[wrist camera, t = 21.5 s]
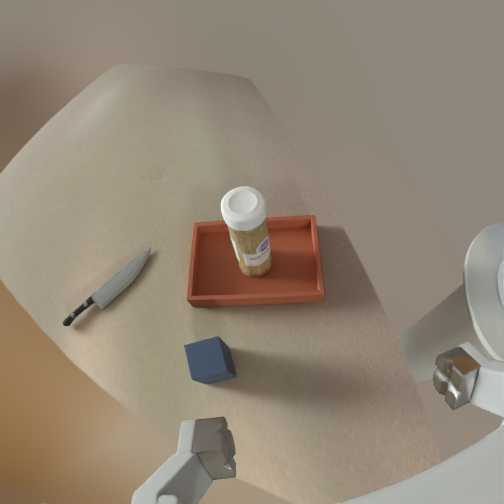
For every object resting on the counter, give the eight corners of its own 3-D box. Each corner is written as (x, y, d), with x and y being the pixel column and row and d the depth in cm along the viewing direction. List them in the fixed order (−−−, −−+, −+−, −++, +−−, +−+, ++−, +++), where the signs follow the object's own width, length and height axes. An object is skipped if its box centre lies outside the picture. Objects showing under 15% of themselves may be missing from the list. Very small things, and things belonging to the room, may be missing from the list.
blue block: (228, 346, 38) (218, 336, 32) (236, 376, 36) (227, 371, 30) (198, 354, 37) (184, 345, 32) (205, 384, 36) (191, 379, 30)
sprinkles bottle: (264, 282, 41) (254, 226, 29) (233, 271, 42) (212, 213, 30) (277, 253, 43) (272, 190, 31) (246, 243, 44) (231, 180, 32)
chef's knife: (162, 260, 45) (151, 247, 46) (159, 257, 44) (149, 244, 45) (71, 338, 40) (64, 323, 41) (67, 336, 39) (60, 321, 40)
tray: (313, 225, 45) (315, 215, 43) (322, 301, 39) (324, 294, 37) (198, 232, 46) (193, 222, 44) (192, 306, 41) (186, 300, 38)
